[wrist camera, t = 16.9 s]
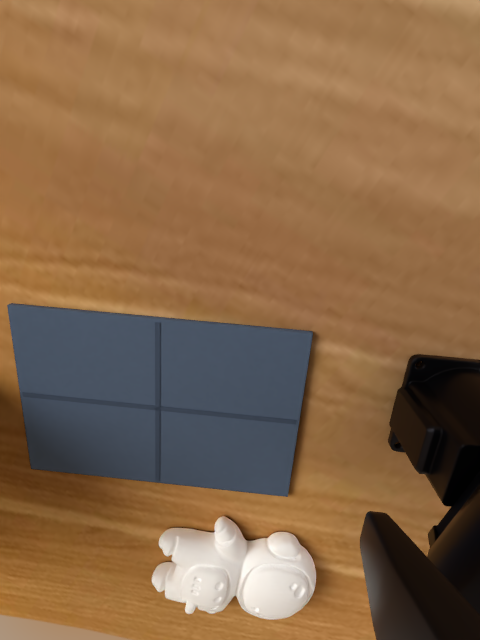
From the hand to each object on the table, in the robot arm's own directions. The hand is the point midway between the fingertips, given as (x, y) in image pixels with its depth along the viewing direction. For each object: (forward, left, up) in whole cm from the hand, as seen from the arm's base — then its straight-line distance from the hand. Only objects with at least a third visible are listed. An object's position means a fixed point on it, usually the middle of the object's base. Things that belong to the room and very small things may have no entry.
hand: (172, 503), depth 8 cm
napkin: (+4, +6, -13) cm, 15 cm away
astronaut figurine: (-2, +19, -13) cm, 23 cm away
